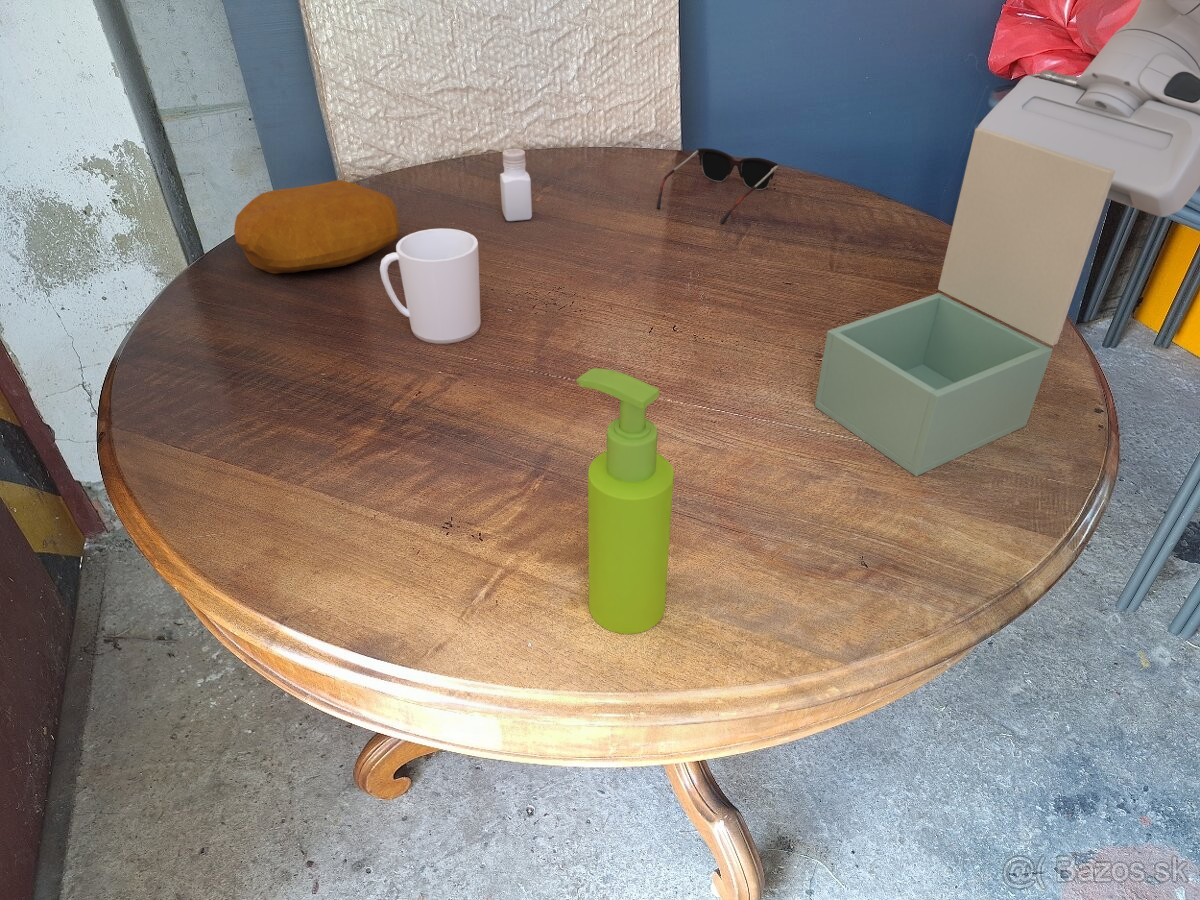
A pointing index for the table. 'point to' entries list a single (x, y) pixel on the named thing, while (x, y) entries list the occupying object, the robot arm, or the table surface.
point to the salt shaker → (515, 186)
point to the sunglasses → (721, 166)
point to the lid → (1023, 232)
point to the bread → (315, 226)
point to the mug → (438, 284)
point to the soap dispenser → (628, 511)
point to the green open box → (929, 380)
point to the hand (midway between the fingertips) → (1029, 217)
